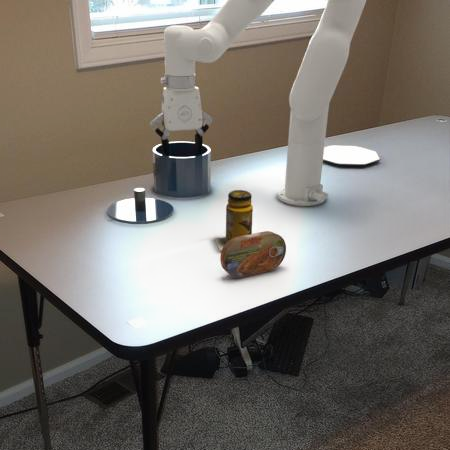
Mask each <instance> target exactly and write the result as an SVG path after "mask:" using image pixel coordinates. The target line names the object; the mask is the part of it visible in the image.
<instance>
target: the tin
mask: <svg viewBox="0 0 450 450" xmlns="http://www.w3.org/2000/svg"><path fill="white" fill-rule="evenodd" d="M286 253H287V245H286V241H285V239H284V238H283V236H281V234H279V233H276V232H273V231H271V230H269V231H268V230H265V231H260V232H254V233H252V234H250V235H245V236H240V237H235V238H233V239H231V240H229V241H228V242H227V243H226V244H225V245H224V247H223V249H222V251H220V255H219V256H220V258H219V259H220V265H221V268H222V269H223V270H224V271H225V272H226V273H227V274H228V275H229V276H230V277H231V278H232V277H233V278H235V279H242V278H246V277H251V276H254V275H255V276H256V275H259V274H264V273H268V272H272V271H274V270H275V269H277V268H278V267H279V266H281V264H282V262H283V261H284V259H285V257H286Z"/></svg>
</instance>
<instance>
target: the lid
mask: <svg viewBox="0 0 450 450" xmlns="http://www.w3.org/2000/svg"><path fill="white" fill-rule="evenodd" d="M174 212H175V211H174V206H173V205H172V204H171V203H170V202H168V201H165V200H163V199H162V200H161V199H158V198H151V197H146V189H145V188H144V187H136V188H134V189H133V197H132V198H126V199H122V200H118V201H116V202H114V203H112V204H111V205H109V206H108V207H107V215H108V216H109V217H110V218H111V219H112V220H114V221H116V222H120V223H124V224H134V225H135V224H137V225H141V224H142V225H144V224H145V225H147V224H152V223H154V224H155V223H159V222H161V221H165V220H167V219H169V218H170V217H172V216H173V214H174Z"/></svg>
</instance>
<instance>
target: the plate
mask: <svg viewBox="0 0 450 450" xmlns="http://www.w3.org/2000/svg"><path fill="white" fill-rule="evenodd" d="M380 160H381V158H380V155H378V153H377V151H376V150H372V149H369V148H365V147H361V146H357V145H327V146H324V154H323V162H327V163H331V164H335V165H338V166H367V165H370V164H373V163H376V162H379V161H380Z"/></svg>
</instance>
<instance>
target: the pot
mask: <svg viewBox="0 0 450 450" xmlns="http://www.w3.org/2000/svg"><path fill="white" fill-rule="evenodd" d="M211 153H212V150H211V148H210V147H209V145H206V144H204V143H203V147H202V148H201V152H198V151H197V150H196V149H195V141H193V142H192V141H169V155H166V154H165V153H164V151H162V143H160V144H156V145H155V146H154V147H153V148H152V164H153V165H152V167H153V169H152V170H153V188H154V189H153V190H154V191H155V192H156V193H157V194H159V195H161V196H165V197H169V198H175V199H184V198H185V199H187V198H196V197H201V196H205V195H207V194H208V193H210V192H211V187H212V186H211V185H212V184H211V183H212V182H211V177H212V176H211V175H212V174H211V172H212V169H211V167H212V165H211V163H212V161H211V157H212V156H211Z"/></svg>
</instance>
